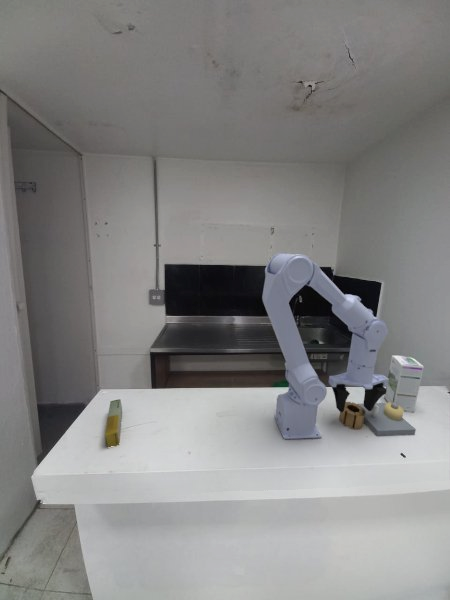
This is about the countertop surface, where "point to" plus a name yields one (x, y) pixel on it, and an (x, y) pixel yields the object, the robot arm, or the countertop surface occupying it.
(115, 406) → the medication box
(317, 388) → the robot arm
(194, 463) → the countertop surface
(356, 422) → the brown segmented ring
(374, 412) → the carrier plate
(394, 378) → the syrup box
